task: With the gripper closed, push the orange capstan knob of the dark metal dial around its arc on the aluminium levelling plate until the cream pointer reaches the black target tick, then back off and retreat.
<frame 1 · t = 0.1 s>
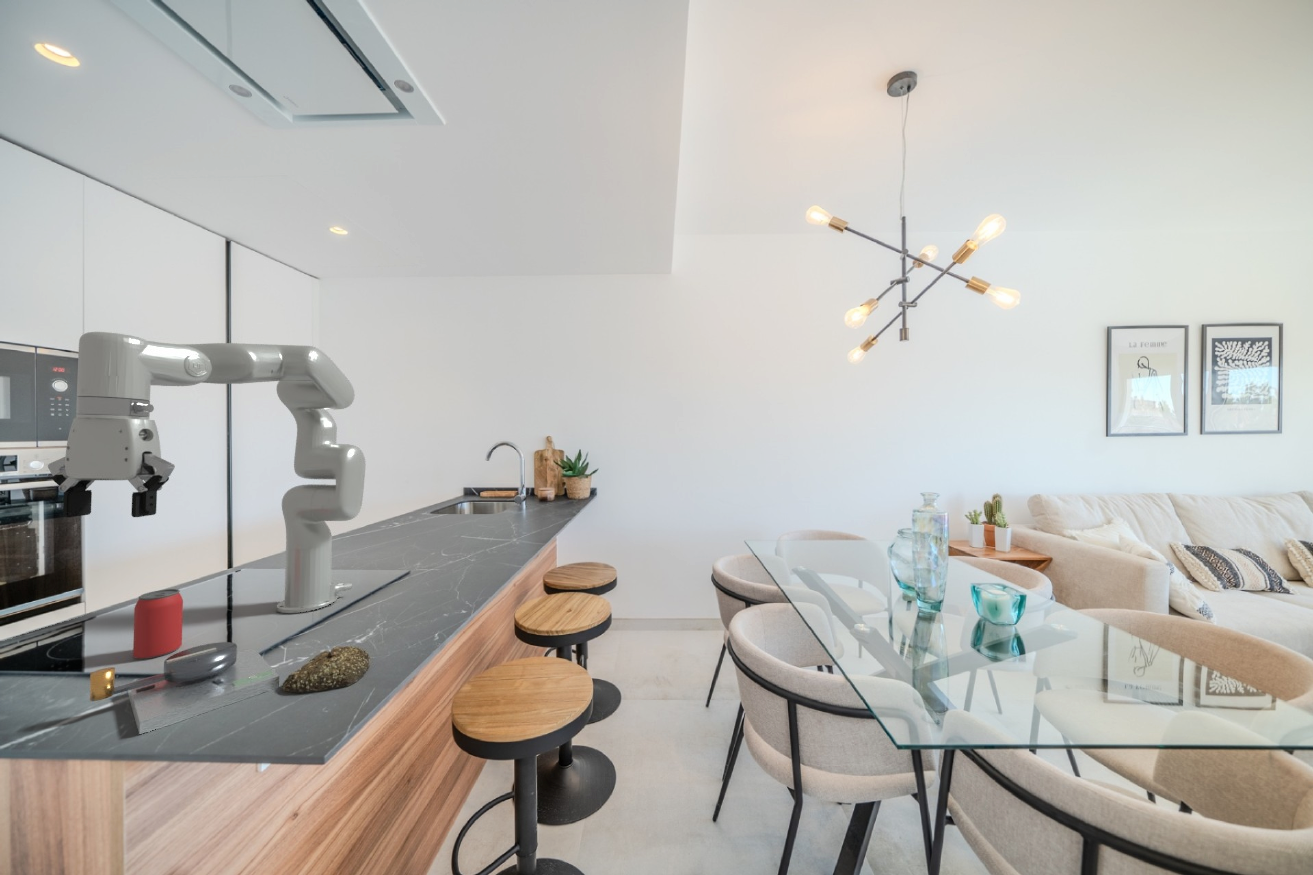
hand: (110, 515, 71), 31 cm above the countertop, tool pointing down, fingers open, 9 cm apart
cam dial: (169, 665, 75), point 5 cm above the countertop, hinge at 0.0°
bread roll: (332, 676, 82), on the countertop
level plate: (205, 690, 76), on the countertop
beer can: (158, 653, 89), on the countertop
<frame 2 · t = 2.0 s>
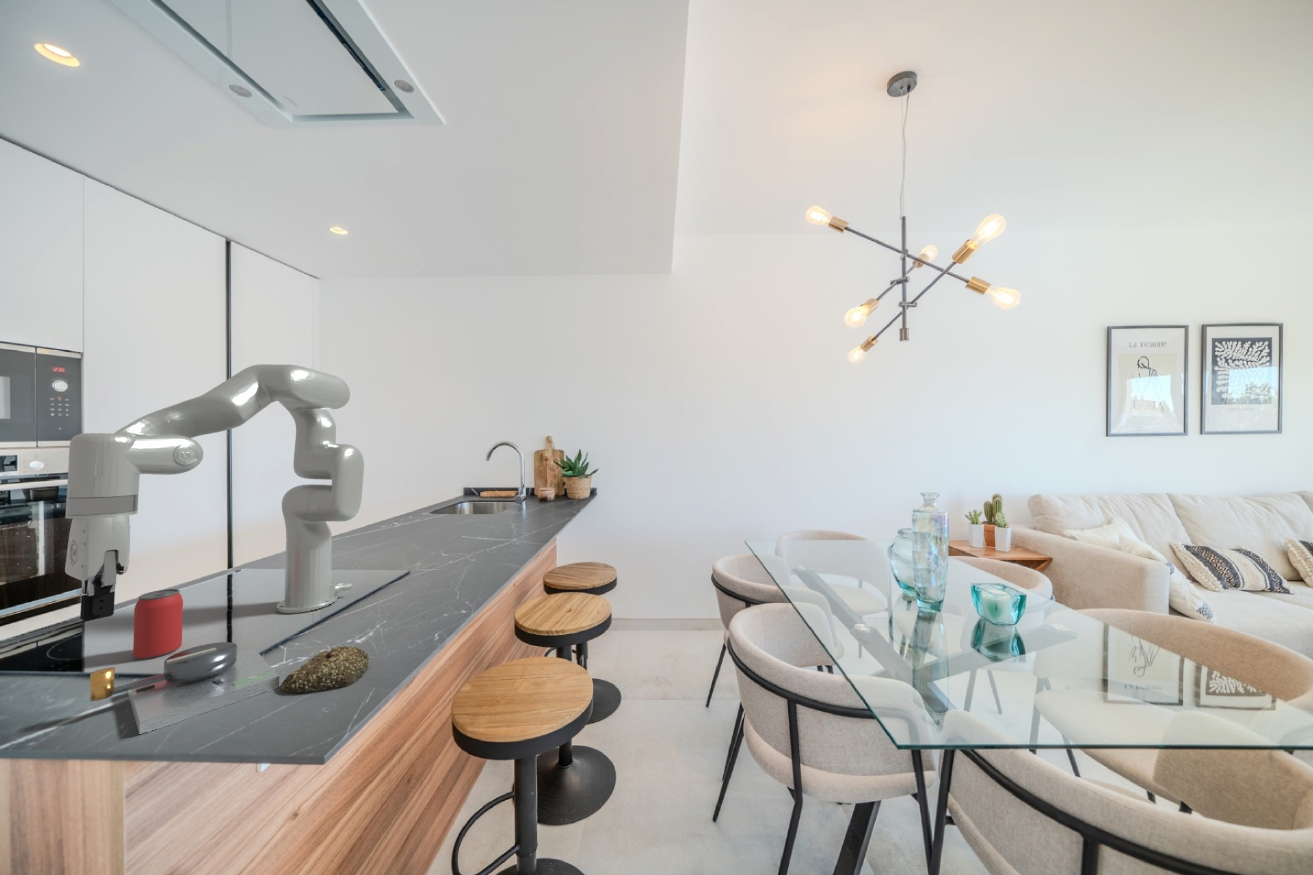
hand: (97, 617, 73), 14 cm above the countertop, tool pointing down, fingers closed
nothing on the countertop moved.
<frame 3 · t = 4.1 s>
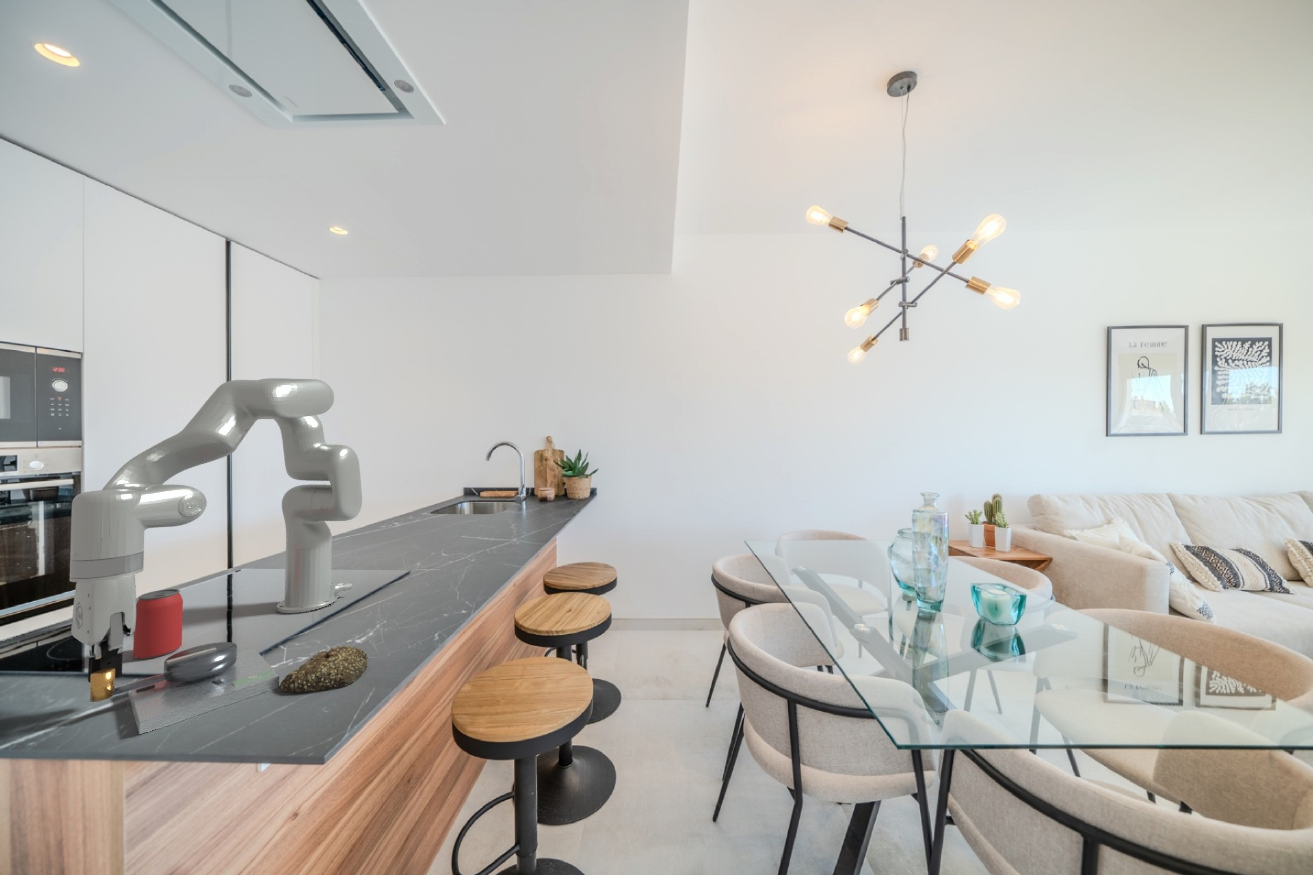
hand: (105, 679, 71), 4 cm above the countertop, tool pointing down, fingers closed
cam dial: (169, 665, 75), point 5 cm above the countertop, hinge at 2.0°, touching gripper
everything else where it was.
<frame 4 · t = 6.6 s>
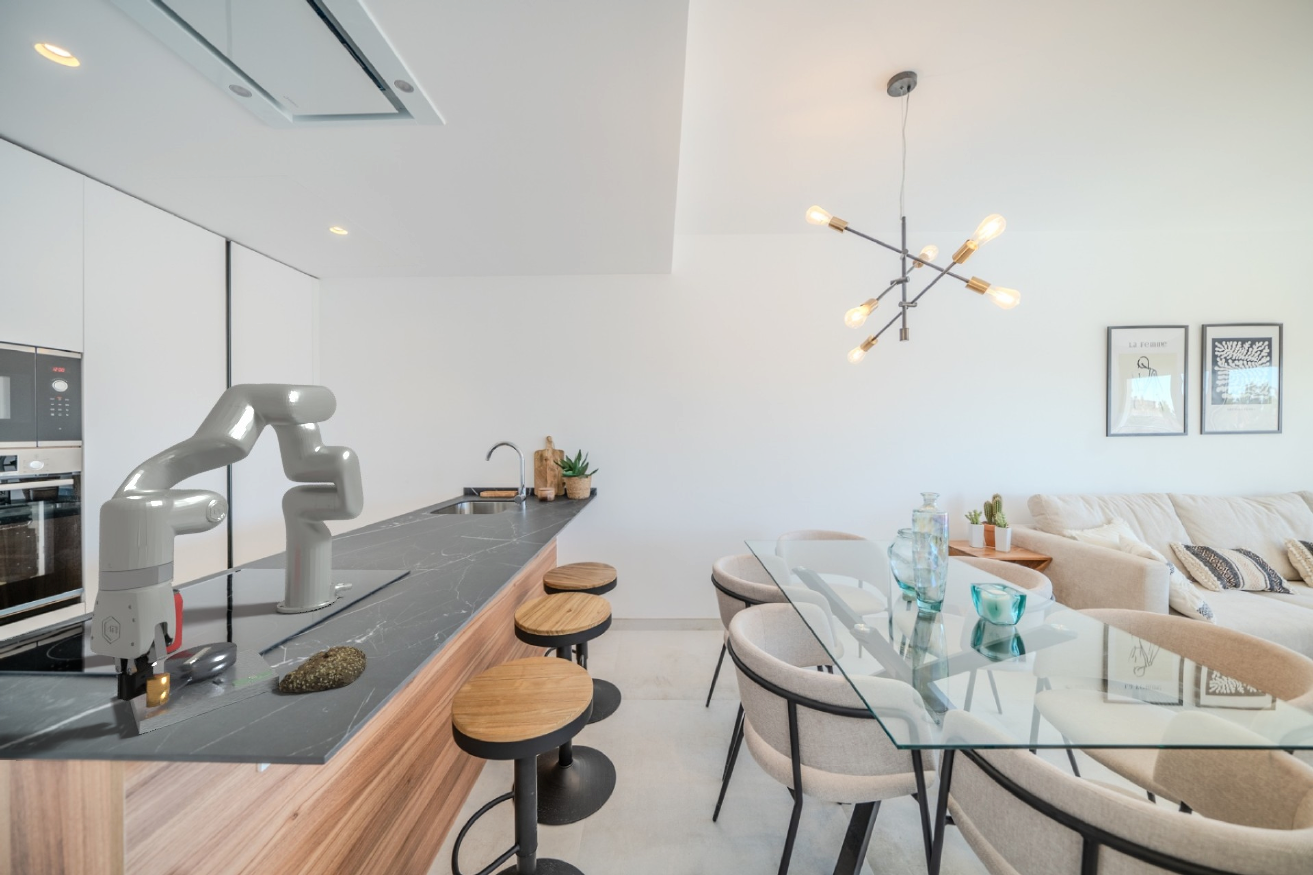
hand: (135, 694, 68), 4 cm above the countertop, tool pointing down, fingers closed
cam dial: (187, 667, 75), point 5 cm above the countertop, hinge at 56.9°, touching gripper
everything else where it was.
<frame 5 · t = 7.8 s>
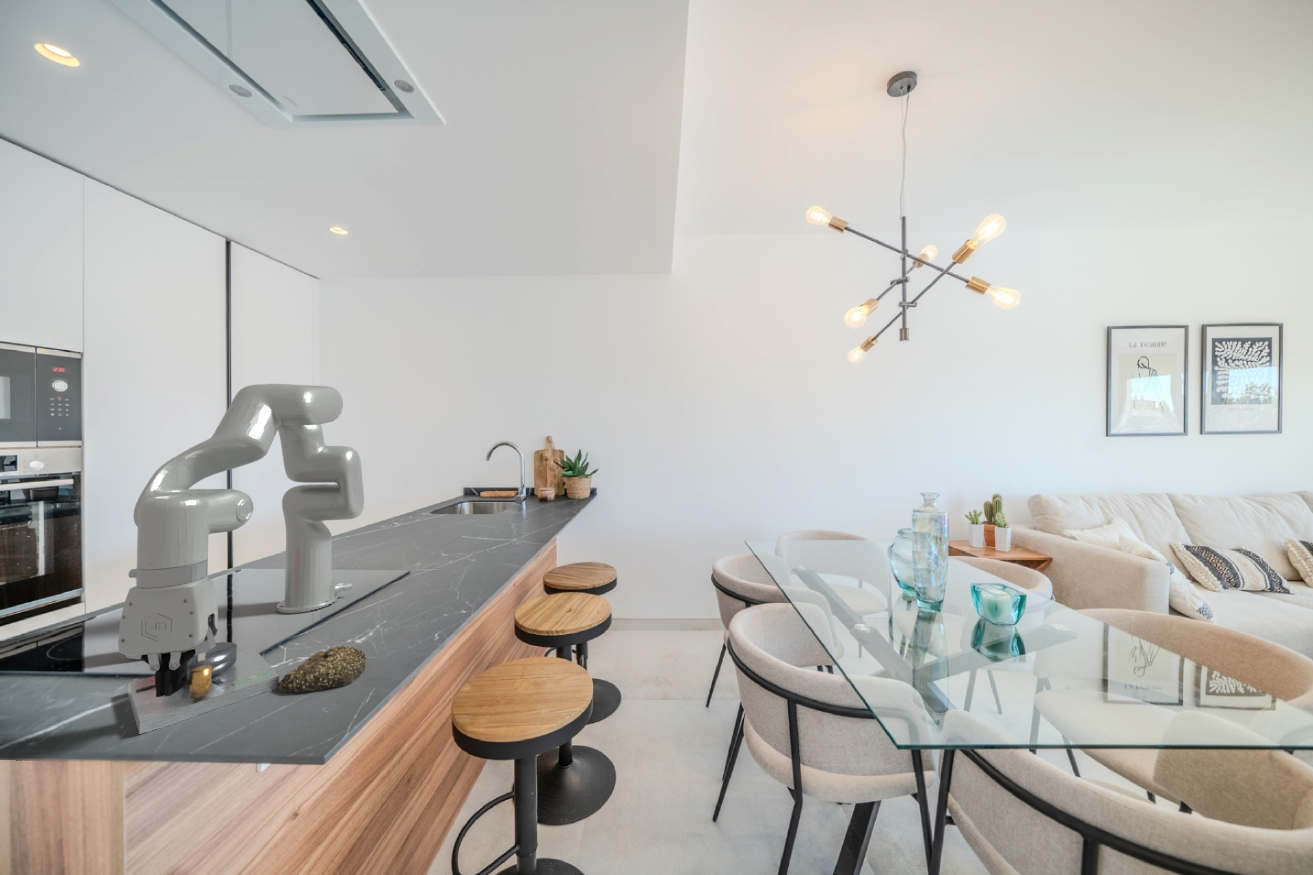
hand: (171, 691, 69), 4 cm above the countertop, tool pointing down, fingers closed
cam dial: (201, 664, 76), point 5 cm above the countertop, hinge at 81.6°, touching gripper
everything else where it was.
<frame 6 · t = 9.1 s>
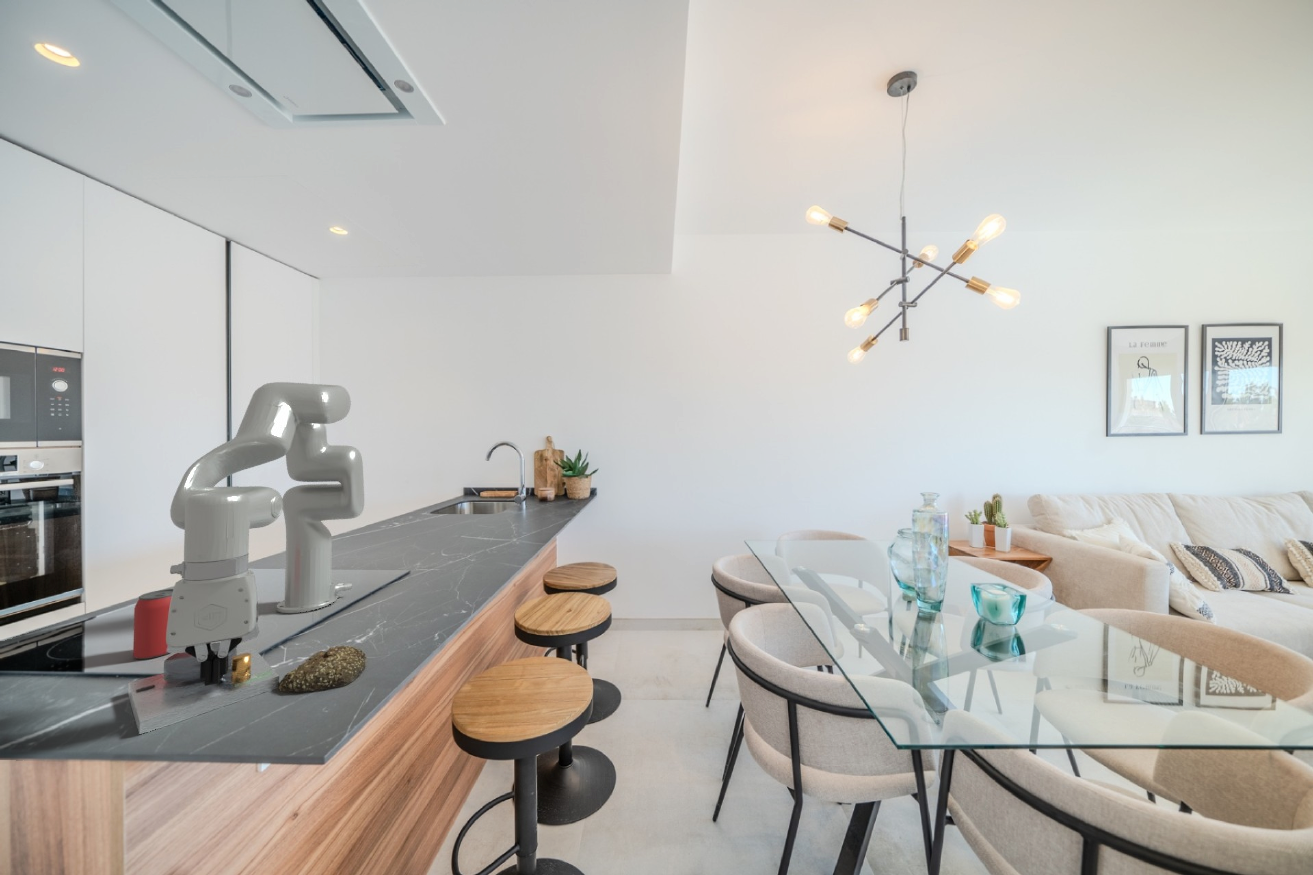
hand: (214, 680, 72), 4 cm above the countertop, tool pointing down, fingers closed
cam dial: (215, 660, 77), point 5 cm above the countertop, hinge at 107.3°, touching gripper
everything else where it was.
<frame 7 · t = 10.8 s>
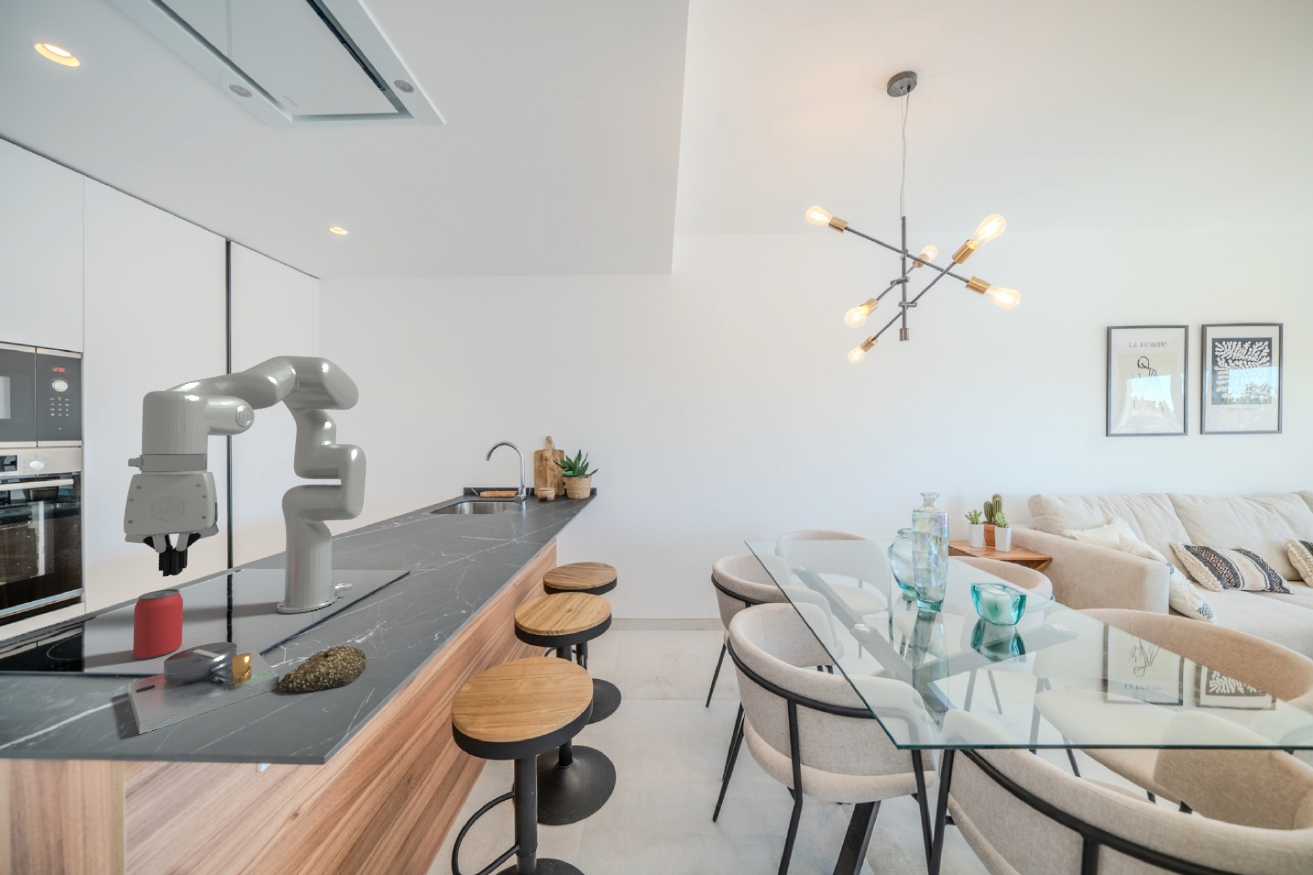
hand: (173, 573, 74), 21 cm above the countertop, tool pointing down, fingers closed
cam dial: (215, 660, 77), point 5 cm above the countertop, hinge at 107.5°
everything else where it was.
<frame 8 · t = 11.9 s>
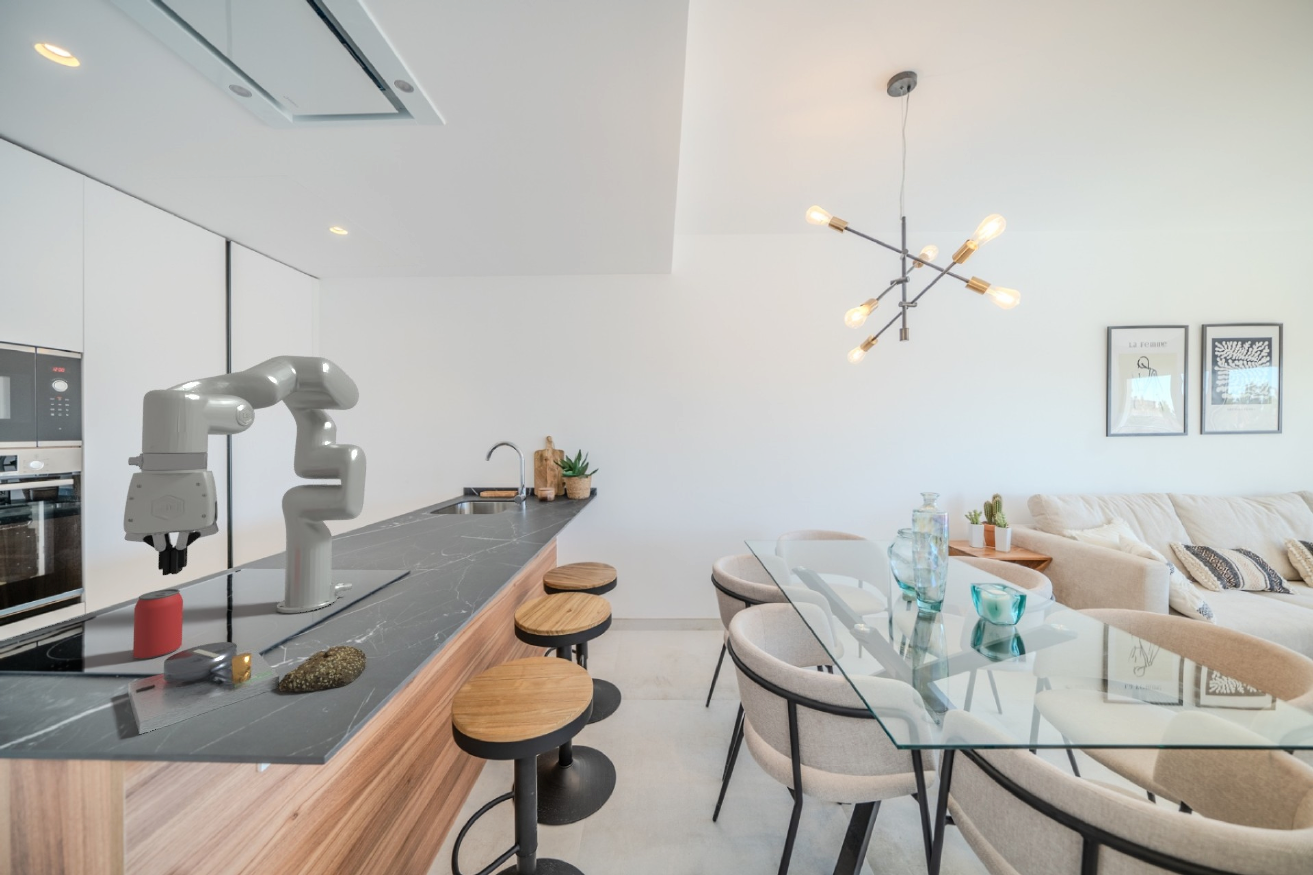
hand: (172, 572, 74), 21 cm above the countertop, tool pointing down, fingers closed
nothing on the countertop moved.
at the end: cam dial at +108° (first picture: +0°) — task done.
